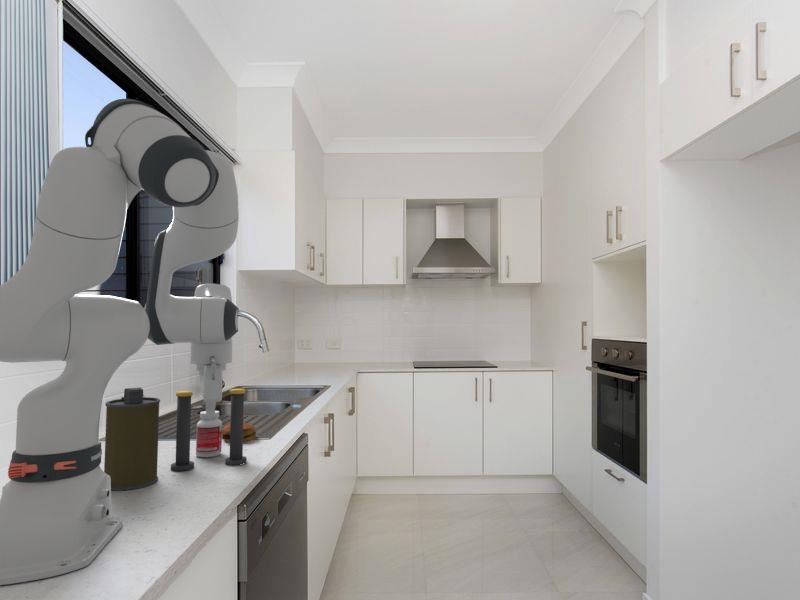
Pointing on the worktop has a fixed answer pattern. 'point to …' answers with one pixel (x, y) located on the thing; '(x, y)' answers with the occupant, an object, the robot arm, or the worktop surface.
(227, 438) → the burger
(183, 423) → the post left
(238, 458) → the post right
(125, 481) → the canister
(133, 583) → the worktop surface
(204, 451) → the pill bottle
